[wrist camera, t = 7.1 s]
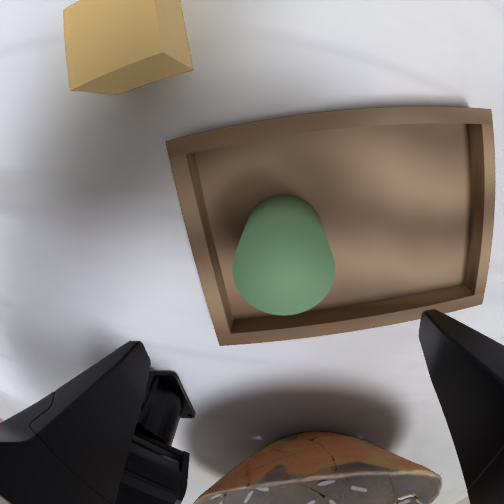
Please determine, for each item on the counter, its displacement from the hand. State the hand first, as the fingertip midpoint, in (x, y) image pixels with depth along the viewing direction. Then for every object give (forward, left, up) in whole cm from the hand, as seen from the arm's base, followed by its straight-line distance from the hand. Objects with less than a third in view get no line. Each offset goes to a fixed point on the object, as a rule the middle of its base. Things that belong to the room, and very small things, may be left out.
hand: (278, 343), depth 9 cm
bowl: (-28, -1, -12) cm, 30 cm away
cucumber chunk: (0, 0, -11) cm, 11 cm away
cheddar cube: (+13, +6, -12) cm, 19 cm away
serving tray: (-1, -5, -12) cm, 13 cm away
